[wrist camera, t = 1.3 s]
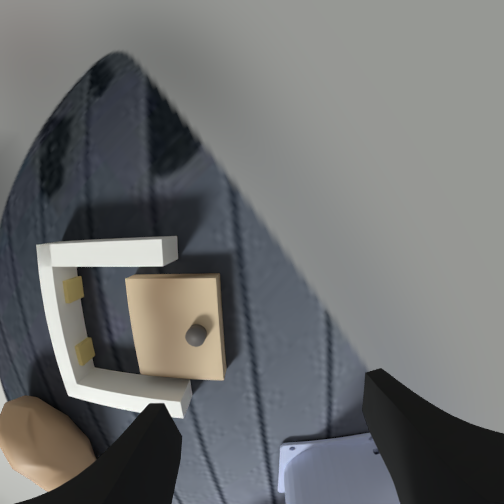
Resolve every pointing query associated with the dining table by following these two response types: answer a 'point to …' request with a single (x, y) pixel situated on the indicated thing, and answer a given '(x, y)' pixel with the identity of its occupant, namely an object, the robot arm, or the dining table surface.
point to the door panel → (178, 325)
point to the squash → (43, 442)
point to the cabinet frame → (74, 331)
